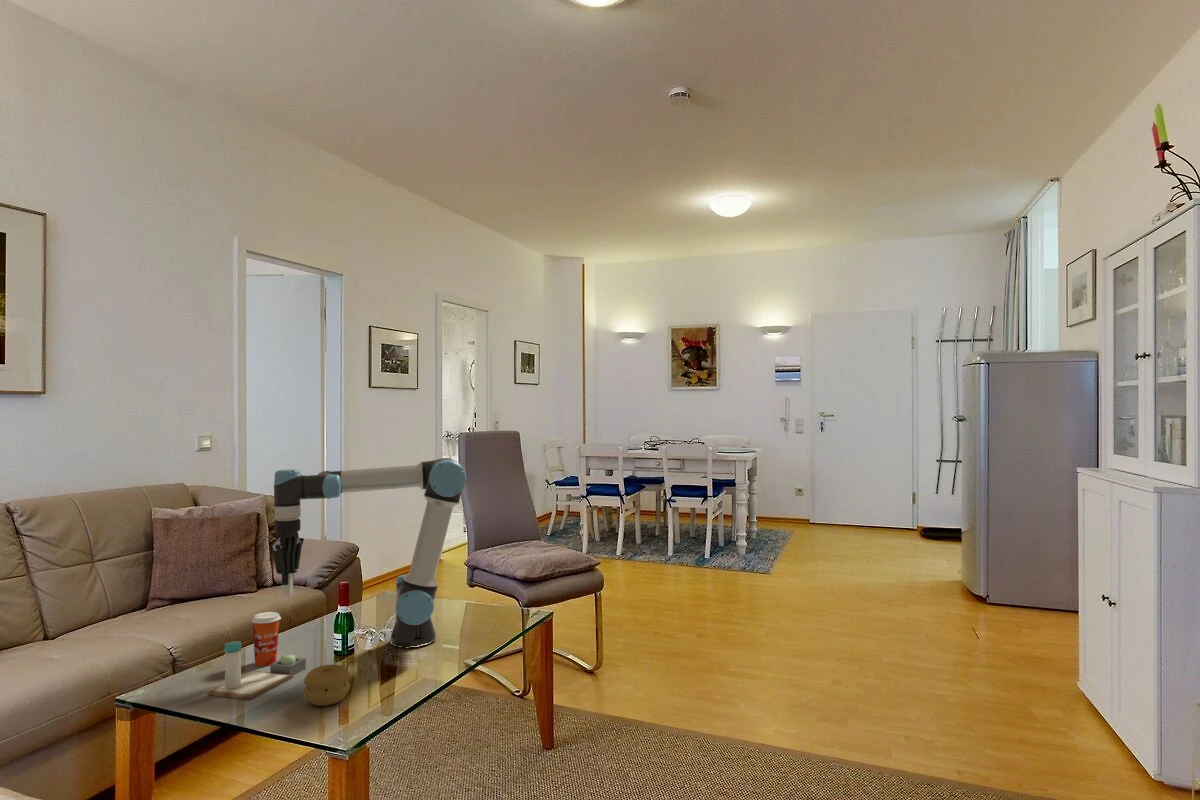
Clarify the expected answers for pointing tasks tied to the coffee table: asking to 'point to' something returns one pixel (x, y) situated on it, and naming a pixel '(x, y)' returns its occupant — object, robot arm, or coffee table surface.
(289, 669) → the button housing
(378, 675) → the coffee table surface
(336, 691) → the pot
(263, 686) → the drawing board
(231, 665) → the marker
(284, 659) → the button
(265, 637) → the coffee cup
